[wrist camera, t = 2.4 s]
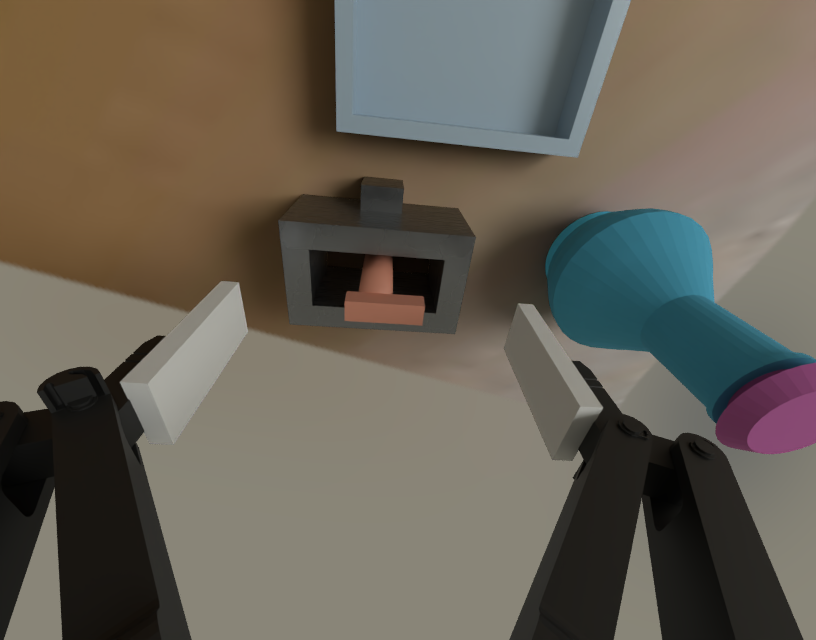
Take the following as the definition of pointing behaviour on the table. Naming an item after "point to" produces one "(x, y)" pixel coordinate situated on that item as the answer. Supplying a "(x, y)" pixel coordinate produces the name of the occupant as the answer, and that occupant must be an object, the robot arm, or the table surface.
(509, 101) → the tray
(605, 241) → the perfume bottle
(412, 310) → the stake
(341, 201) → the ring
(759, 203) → the table surface
